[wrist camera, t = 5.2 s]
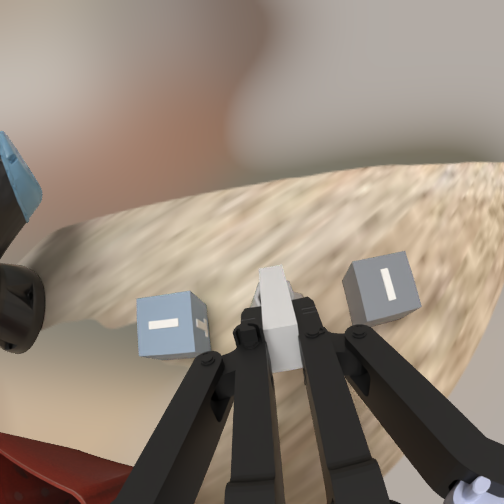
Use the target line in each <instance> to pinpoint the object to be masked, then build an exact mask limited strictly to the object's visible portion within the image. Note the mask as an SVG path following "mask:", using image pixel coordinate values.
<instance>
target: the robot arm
mask: <svg viewBox="0 0 504 504" xmlns="http://www.w3.org/2000/svg"><path fill="white" fill-rule="evenodd" d="M41 200H42V190H41V187H40V185H39V183H38V182H37V180H36V179H35V177H34V175H33V174H32V172H31V171H30V169H29V167H28V166H27V164H26V163H25V161H24V160H23V158H22V157H21V155H20V154H19V152H18V151H17V149H16V148H15V146H14V145H13V143H12V142H11V140H10V139H9V137H8V136H7V135H6V134H5V132H3V131H0V259H1V257H2V256H3V254H4V253H5V251H6V250H7V248H8V247H9V245H10V244H11V243H12V241H13V240H14V238H15V237H16V235H17V234H18V233H19V231H20V230H21V229H22V228H23V226H24V225H25V224H26V223H28V222H29V218H30V217H31V215H32V214H33V212H34V211H35V210H36V208H37V207H38V206H39V204H40V203H41ZM259 280H260V294H261V306H258V307H252V308H246V309H244V311H243V312H242V314H241V324H240V325H238V326H237V327H236V328H235V329H234V331H233V335H234V339H235V342H236V346H237V348H236V349H235V350H234V351H232V352H230V353H228V354H225V355H222V356H221V354H220V353H218V352H216V351H207V352H204V353H201V354H200V355H198V356H197V357H196V358H195V359H194V361H193V363H192V365H191V367H190V368H189V370H188V372H187V374H186V375H185V377H184V379H183V381H182V383H181V384H180V386H179V388H178V390H177V391H176V393H175V395H174V397H173V399H172V400H171V402H170V404H169V406H168V407H167V409H166V411H165V413H164V414H163V416H162V418H161V420H160V421H159V423H158V425H157V427H156V429H155V430H154V432H153V434H152V436H151V437H150V439H149V441H148V443H147V445H146V446H145V448H144V450H143V451H142V453H141V455H140V457H139V459H138V460H137V462H136V464H135V466H134V467H133V469H132V471H131V473H130V474H129V476H128V478H127V480H126V481H125V483H124V485H123V487H122V488H121V490H120V492H119V494H118V495H117V497H116V499H115V500H114V501H112V502H111V503H110V504H194V502H195V499H196V497H197V495H198V492H199V490H200V487H201V485H202V482H203V480H204V477H205V475H206V472H207V470H208V467H209V465H210V462H211V460H212V457H213V455H214V452H215V449H216V447H217V444H218V442H219V439H220V436H221V434H222V431H223V429H224V426H225V423H226V421H227V418H228V415H229V413H230V410H231V407H232V404H233V402H234V413H233V436H232V460H231V479H230V482H228V483H227V485H226V489H225V503H224V504H285V497H284V485H283V474H282V463H281V452H280V441H279V430H278V420H277V409H276V399H275V389H274V380H273V375H272V373H276V372H282V371H288V370H294V369H299V368H303V374H304V382H305V385H306V389H307V394H308V399H309V404H310V409H311V414H312V419H313V424H314V429H315V434H316V440H317V445H318V450H319V456H320V461H321V466H322V472H323V478H324V483H325V489H326V496H327V504H400V503H398V502H396V501H393V500H389V497H388V494H387V490H386V487H385V484H384V480H383V477H382V474H381V471H380V467H379V465H378V462H377V461H376V459H374V458H372V457H371V454H370V451H369V448H368V445H367V442H366V439H365V436H364V433H363V430H362V427H361V424H360V421H359V418H358V415H357V412H356V409H355V406H354V403H353V400H352V397H351V394H350V391H349V388H348V386H347V383H346V380H345V378H346V379H347V381H348V382H349V383H350V385H351V386H352V387H353V388H354V390H355V391H356V392H357V394H358V395H359V396H360V398H361V399H362V400H363V401H364V403H365V404H366V405H367V407H368V408H369V409H370V411H371V412H372V413H373V414H374V416H375V417H376V418H377V420H378V421H379V422H380V423H381V425H382V426H383V427H384V429H385V430H386V431H387V433H388V434H389V435H390V436H391V438H392V439H393V440H394V442H395V443H396V444H397V445H398V447H399V448H400V449H401V451H402V452H403V453H404V455H405V456H406V457H407V458H408V460H409V461H410V462H411V464H412V465H413V466H414V467H415V469H416V470H417V471H418V472H419V474H420V475H421V476H422V478H423V479H424V480H425V481H426V483H427V484H428V485H429V486H430V487H431V488H432V489H433V491H435V492H436V493H437V494H438V495H439V496H441V497H442V498H444V499H445V500H444V502H443V504H504V445H502V444H500V443H498V442H495V441H493V440H490V439H488V438H486V437H485V436H484V435H483V434H482V433H481V432H480V431H479V430H478V429H477V428H476V427H475V426H474V425H473V424H472V423H471V422H470V421H469V420H468V419H467V418H466V417H465V416H464V415H463V414H462V413H461V412H460V411H459V410H458V409H457V408H456V407H455V406H454V405H453V404H452V403H451V402H450V401H449V400H448V399H447V398H446V397H445V396H444V395H443V394H441V393H440V392H439V391H438V390H437V389H436V388H435V387H434V386H433V385H432V384H431V383H430V382H429V381H428V380H427V379H426V378H425V377H424V376H423V375H422V374H420V373H419V372H418V371H417V370H416V369H415V368H414V367H413V366H412V365H411V364H410V363H409V362H408V361H407V360H406V359H404V358H403V357H402V356H401V355H400V354H399V353H398V352H397V351H396V350H395V349H394V348H393V347H392V346H390V345H389V344H388V343H387V342H386V341H385V340H384V339H383V338H382V337H381V336H380V335H379V334H377V333H376V332H375V331H374V330H373V329H372V328H371V327H369V326H367V325H363V324H356V325H353V326H350V327H349V328H347V330H346V331H345V334H337V333H331V332H328V331H327V329H326V328H325V327H323V325H322V322H321V320H320V317H319V314H318V312H317V309H316V307H315V304H314V301H313V300H312V299H310V298H309V297H304V298H299V299H294V300H291V297H290V293H289V289H288V285H287V282H286V278H285V274H284V270H283V266H282V265H277V266H271V267H266V268H260V269H259ZM44 309H45V296H44V289H43V285H42V282H41V280H40V278H39V276H38V275H37V274H36V273H35V272H34V271H32V270H30V269H29V268H27V267H25V266H22V265H13V264H3V263H0V348H2V349H3V350H5V351H8V352H11V353H15V354H21V353H24V352H26V351H27V350H28V349H30V347H31V346H32V345H33V344H34V342H35V340H36V338H37V336H38V334H39V332H40V329H41V326H42V322H43V317H44ZM344 376H345V377H344Z"/></svg>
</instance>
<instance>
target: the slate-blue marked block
mask: <svg viewBox="0 0 504 504" xmlns="http://www.w3.org/2000/svg"><path fill="white" fill-rule="evenodd" d="M137 330H138V349H139V356H141V357H147V358H154V359H160V360H170V359H183V358H194V357H197V356H198V355H200V354H201V353H204V352H207V351H211V345H210V336H209V327H208V317H207V307H206V304H205V303H204V302H202V301H201V300H200V299H199V298H198V297H197V296H195V295H194V294H193V293H192V292H191V291H186V292H179V293H173V294H166V295H159V296H152V297H145V298H138V299H137Z"/></svg>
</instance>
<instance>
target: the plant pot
mask: <svg viewBox="0 0 504 504" xmlns="http://www.w3.org/2000/svg"><path fill="white" fill-rule="evenodd" d="M132 469H133V467H132V466H129V465H125V464H121V463H117V462H114V461H110V460H107V459H103V458H100V457H97V456H94V455H91V454H88V453H85V452H82V451H80V450H76V449H71V448H68V447H63V446H59V445H54V444H50V443H45V442H41V441H37V440H32V439H28V438H23V437H19V436H14V435H10V434H5V433H1V432H0V504H110V503H111V502H112V501H114V500H115V499H116V497H117V495H118V494H119V492H120V490H121V488H122V487H123V485H124V483H125V481H126V480H127V478H128V476H129V474H130V473H131V471H132Z"/></svg>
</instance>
